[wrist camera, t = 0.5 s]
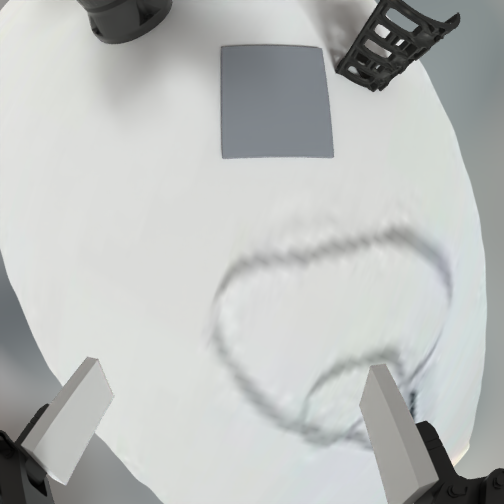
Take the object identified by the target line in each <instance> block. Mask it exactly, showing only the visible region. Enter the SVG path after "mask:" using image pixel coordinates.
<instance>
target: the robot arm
mask: <svg viewBox="0 0 504 504" xmlns="http://www.w3.org/2000/svg"><path fill="white" fill-rule="evenodd" d="M77 1H78V2H79V3H80V4H81V5H82V6H83V7H84V8H85V10H86V11H87V13H88V17H89V21H90V25H91V29H92V31H93V33H94V35H95V36H96V37H97V38H98V39H99V40H100V41H102V42H104V43H107V44H119V43H124V42H128V41H131V40H133V39H136V38H138V37H140V36H142V35H144V34H146V33H147V32H149V31H150V30H152V29H153V28H154V27H156V26H157V25H158V24H159V23H160V22H161V21H162V20H163V19H164V18H165V17H166V15H167V14H168V13H169V11H170V9H171V6H172V0H77ZM113 398H114V394H113V392H112V390H111V388H110V386H109V383H108V381H107V379H106V376H105V374H104V372H103V369H102V367H101V364H100V362H99V359H95V358H90V357H87V358H86V359H85V360H84V362H83V363H82V364H81V365H80V366H79V368H78V369H77V370H76V371H75V373H74V374H73V375H72V376H71V378H70V379H69V380H68V382H67V383H66V384H65V385H64V387H63V388H62V390H61V391H60V392H59V393H58V395H57V396H56V397H55V398H54V400H53V401H52V402H51V404H50V405H49V404H45V405H44V406H43V407H41V408H40V409H39V410H38V411H37V413H36V414H35V415H34V417H33V418H32V419H31V421H30V423H28V425H27V426H26V428H25V429H24V430H23V432H22V433H21V435H20V436H19V437H18V439H17V440H16V441H15V443H14V442H13V441H12V440H11V439H10V438H9V436H8V435H7V434H6V433H5V432H4V431H2V430H0V504H54V500H53V497H52V493H51V490H50V485H49V481H48V479H47V477H46V474H47V473H48V474H49V475H50V476H51V477H52V478H53V479H54V480H56V481H58V482H60V483H62V484H64V485H67V483H68V481H69V479H70V477H71V475H72V472H73V471H74V469H75V467H76V465H77V463H78V461H79V459H80V457H81V455H82V454H83V452H84V450H85V448H86V446H87V444H88V442H89V441H90V439H91V437H92V435H93V433H94V432H95V430H96V428H97V426H98V424H99V423H100V421H101V419H102V417H103V416H104V414H105V412H106V410H107V409H108V407H109V405H110V403H111V402H112V400H113ZM359 406H360V409H361V412H362V415H363V418H364V421H365V424H366V428H367V431H368V434H369V437H370V441H371V444H372V447H373V451H374V454H375V457H376V461H377V464H378V468H379V471H380V475H381V479H382V482H383V486H384V490H385V494H386V498H387V502H388V504H413V503H414V504H504V469H502V468H499V469H495V470H494V471H493V472H491V473H490V474H489V475H488V476H486V477H481V478H476V479H466V478H464V477H462V476H459V475H458V474H457V473H456V472H455V470H454V468H453V465H452V463H451V461H450V459H449V457H448V455H447V452H446V450H445V448H444V446H442V445H443V444H442V442H441V440H440V439H439V436H438V434H437V432H436V430H435V428H434V427H433V426H432V425H431V424H430V423H428V422H427V421H423V422H420V423H417V424H415V422H414V420H413V418H412V416H411V414H410V412H409V410H408V408H407V406H406V403H405V401H404V399H403V397H402V395H401V393H400V391H399V389H398V387H397V385H396V383H395V381H394V379H393V377H392V375H391V373H390V372H389V370H388V368H387V366H386V364H380V365H373V366H370V370H369V373H368V377H367V381H366V384H365V388H364V391H363V394H362V398H361V401H360V404H359Z"/></svg>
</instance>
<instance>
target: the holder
mask: <svg viewBox="0 0 504 504" xmlns="http://www.w3.org/2000/svg"><path fill="white" fill-rule="evenodd" d="M390 8H393V9H396V10H397V11H398V12H400V13H401V14H403V15H404V16H405V17H407V18H408V19H410V20H411V21H413V22H414V23H416V24H418V25H419V26H418V27H417V28H416V29H415V30H414V31H413V32H408V31H406V30H404V29H402V28H401V27H399V26H398V25H396V24H395V23H393V22H392V21H391V20H389V19H388V18H387V17H386V15H385V14H386V13H387V11H388V10H389V9H390ZM450 23H451V24H450ZM459 23H460V14H459V13H457V14H455V15H454V16H452V17H451V18H450V19H448V20H447V21H446V22H444V23H443V22H439V21H436V20H433V19H431V18H429V17H426V16H424V15H422V14H421V13H419V12H418V11H416V10H414V9H413V8H411V7H410V6H409V5H407V4H406V3H405V2H404V1H402V0H380V2H379V3H378V5H377V6H376V8H375V9H374V11H373V13H372V14H371V16H370V17H369V19H368V21H367V22H366V24H365V25H364V27H363V29H362V30H361V32H360V33H359V35H358V37H357V38H356V40H355V41H354V43H353V45H352V46H351V48H350V49H349V51H348V53H347V54H346V56H345V58H343V59H342V60H341V62H340V63H339V65H338V66H337V69H336V73H338V74H340V75H343V76H344V77H346V78H347V79H349V80H350V81H352V82H354V83H356V84H358V85H360V86H363V87H366V88H368V89H369V90H371V91H372V92H374V91H375V90H377V89H378V88H379V90H380V91H382V90H383V89H384V88H385V87H386V86H388V84H389V82H390V81H391V80H392V79H393V78H394V77H395V76H397V75H398V74H401V73H402V72H404V71H405V69H406V68H407V66H409V64H411V63H412V62H413V61H414V60H415V61H416V60H418V59H419V58H420V57H421V56H423V55H424V54H425V53H426V52H427V51H428V50H429V49H430V48H431V47H432V46H433V45H434V44H435V43H437V42H438V41H439V40H440V39H443V37H444V35H446V34H448V33H449V32H451V31H452V30H453V29H455V28H456V27H457V26H458V25H459ZM378 24H380V25H383V26H384V27H385V28H387V29H388V30H389V31H391V32H390V33H389V34H388V36H387V37H386V38H382V37H380V36H379V35H378V34H376V33H375V31H374V29H375V28H376V26H377V25H378ZM368 39H370V40H372V41H373V42H375V43H376V44H378V45H379V46H381V47H382V48H384V49H386V50H388V51H389V52H391V53H392V54H391V55H390V56H389V57H388V58H384V57H381V56H379V55H377V54H375V53H373V52H372V51H370V50H369V49H368V48H366V47H365V45H364V44H365V42H366V41H367V40H368ZM400 39H403V40H405V41H404V42H403V43H402V44H401V45H400V46H397V45H395V44H396V43H397V42H398V41H399V40H400ZM377 65H381V66H380V67H379V68H378V69H376V68H375V67H376V66H377ZM350 66H354V67H356V68H357V70H358V71H359V73H360V75H361V77H362V78H361V77H358V76H356V75H354V74H353V73H351V72H350V71H349V70H348V68H349V67H350Z"/></svg>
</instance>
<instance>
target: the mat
mask: <svg viewBox="0 0 504 504" xmlns="http://www.w3.org/2000/svg"><path fill="white" fill-rule="evenodd" d="M221 85H222V158H223V159H232V158H261V157H312V158H333V157H334V149H333V136H332V124H331V114H330V104H329V95H328V87H327V79H326V72H325V65H324V59H323V52H322V48H311V47H298V46H267V45H262V46H231V47H222V72H221Z"/></svg>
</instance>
